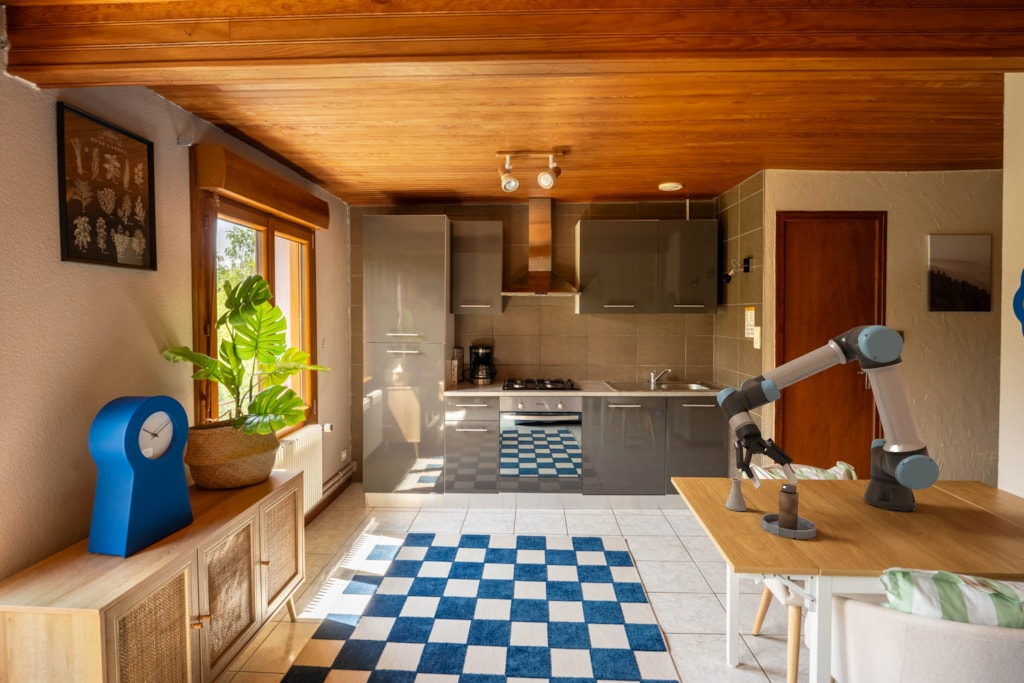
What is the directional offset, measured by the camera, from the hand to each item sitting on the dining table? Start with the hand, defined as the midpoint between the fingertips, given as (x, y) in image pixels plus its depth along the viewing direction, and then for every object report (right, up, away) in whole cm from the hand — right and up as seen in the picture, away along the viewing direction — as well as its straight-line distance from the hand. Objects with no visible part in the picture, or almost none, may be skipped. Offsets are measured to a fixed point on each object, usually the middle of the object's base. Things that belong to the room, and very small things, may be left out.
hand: (777, 485), depth 168 cm
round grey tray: (+1, -13, -4) cm, 13 cm away
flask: (-7, -12, +15) cm, 21 cm away
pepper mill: (+1, -12, -3) cm, 13 cm away
